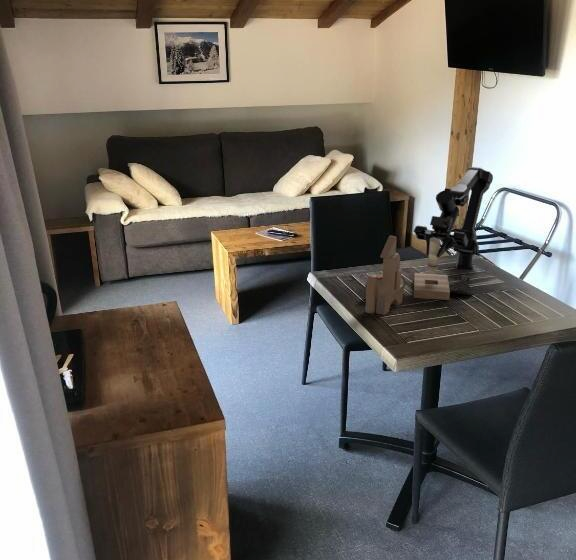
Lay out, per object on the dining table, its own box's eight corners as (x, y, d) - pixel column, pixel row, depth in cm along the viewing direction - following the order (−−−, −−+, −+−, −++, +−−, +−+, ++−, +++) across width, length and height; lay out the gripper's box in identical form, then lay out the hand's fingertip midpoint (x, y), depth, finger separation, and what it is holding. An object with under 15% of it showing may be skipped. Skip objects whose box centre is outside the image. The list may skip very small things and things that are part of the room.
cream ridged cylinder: (432, 270, 209) (434, 237, 204) (439, 273, 206) (442, 239, 201) (424, 272, 207) (427, 238, 202) (432, 275, 204) (435, 241, 200)
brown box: (414, 280, 218) (414, 273, 217) (446, 282, 216) (447, 275, 215) (413, 297, 201) (414, 289, 200) (449, 300, 199) (449, 292, 198)
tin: (401, 292, 206) (402, 270, 204) (405, 295, 204) (407, 273, 201) (363, 298, 201) (365, 275, 198) (368, 301, 199) (369, 278, 196)
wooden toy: (384, 298, 201) (389, 229, 192) (402, 302, 197) (407, 232, 189) (363, 312, 189) (367, 239, 181) (381, 317, 186) (386, 243, 177)
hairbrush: (477, 271, 221) (472, 289, 198) (476, 280, 222) (471, 299, 199) (455, 268, 223) (447, 286, 201) (454, 277, 225) (446, 296, 202)
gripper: (417, 203, 207) (402, 240, 202) (468, 210, 196) (453, 249, 192) (425, 220, 215) (410, 255, 211) (474, 228, 205) (459, 265, 200)
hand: (432, 256), depth 203 cm, fingers closed on cream ridged cylinder, 4 cm apart
